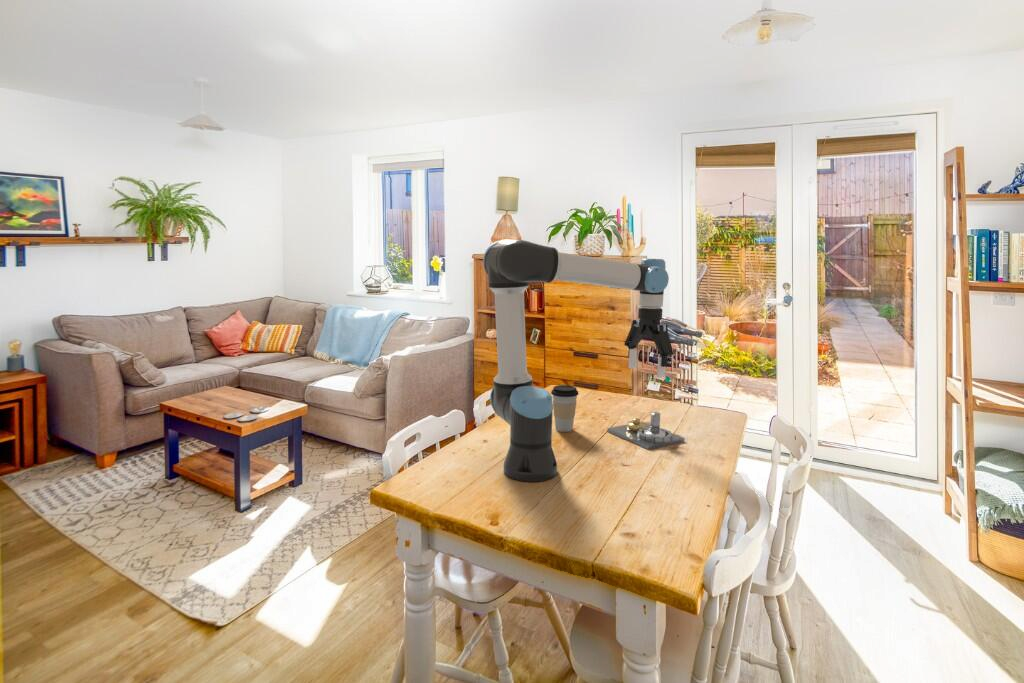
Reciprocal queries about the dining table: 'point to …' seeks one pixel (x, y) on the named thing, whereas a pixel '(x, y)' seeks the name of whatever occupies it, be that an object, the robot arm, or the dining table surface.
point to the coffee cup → (564, 406)
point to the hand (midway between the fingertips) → (646, 372)
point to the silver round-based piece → (655, 426)
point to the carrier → (637, 436)
